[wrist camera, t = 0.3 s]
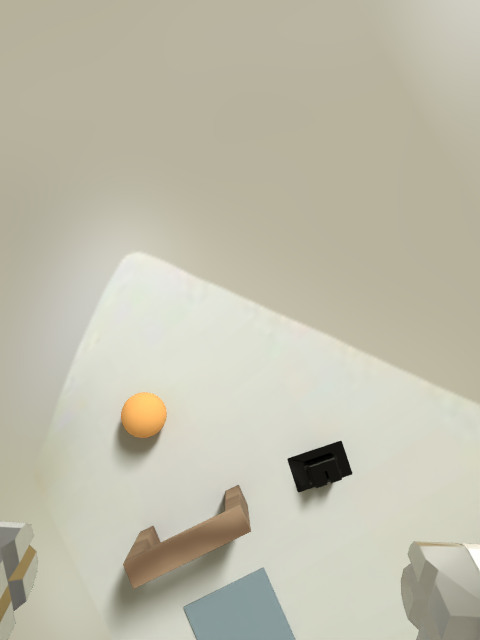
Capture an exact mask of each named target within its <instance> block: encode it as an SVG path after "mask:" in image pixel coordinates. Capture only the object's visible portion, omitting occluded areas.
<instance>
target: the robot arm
mask: <svg viewBox="0 0 480 640" xmlns="http://www.w3.org/2000/svg"><path fill="white" fill-rule="evenodd" d="M33 537H34V534H33V530H32V525H31V524H27V523H15V522H2V521H0V640H8V639H9V636H10V634H11V632H12V630H13V628H14V626H15V624H16V621H15V616H14V611H15V610H16V609H17V608H19V606H21V605H22V604H23V603H25V602H26V601H27V599H28V597H29V594H30V592H31V590H32V588H33V585H34V580H35V577H36V573H37V565H38V558H37V552H36V551H35V550H34V549H33V548H32V547H31V546H30V545H29V544H30V542H31V540H32V539H33ZM408 556H409V559H410V562H411V564H409V565H408V566H407V567H406V568H404V569H403V574H402V578H401V595H402V600H403V605H404V609H405V612H406V615H407V618H408V620H409V621H410V622H411V623H412V624H413V625H414V626H415V627H416V628H417V629H418V630H419V633H418V636H417V639H416V640H480V544H458V543H440V542H413V543H412V544H411V545H410V548H409V551H408Z"/></svg>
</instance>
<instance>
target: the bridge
mask: <svg viewBox="0 0 480 640" xmlns="http://www.w3.org/2000/svg"><path fill="white" fill-rule="evenodd" d="M249 532H251V529H250V521H249V513H248V505H247V503H246V500H245V498H244V496H243V494H242V491H241V489H240V487H239V485H237V486H235V487H233V488H231V489H229V490H227V491H226V496H225V512H223V513H221V514H219V515H217V516H215V517H213V518H211V519H209V520H207V521H204V522H202V523H200V524H198V525H196V526H194V527H192V528H190V529H188V530H186V531H184V532H182V533H180V534H178V535H175V536H173V537H171V538H169V539H167V540H165V541H163V542H160V540H159V538H158V535H157V533H156V531H155V528H154V526H152V527H150V528H148V529H146V530H144V531H141V532H140V533H139V535H138V537H137V539H136V541H135V543H134V545H133V547H132V548H131V550H130V552H129V554H128V556H127V558H126V560H125V562H124V563H123V565H124V568H125V570H126V573H127V575H128V577H129V580H130V582H131V585H132V587H133V589H134V588H136V587H138V586H140V585H142V584H144V583H146V582H148V581H150V580H152V579H155V578H157V577H159V576H161V575H163V574H165V573H167V572H169V571H171V570H173V569H175V568H177V567H179V566H181V565H183V564H185V563H187V562H189V561H191V560H193V559H196V558H198V557H200V556H202V555H204V554H206V553H208V552H210V551H212V550H214V549H216V548H218V547H220V546H222V545H224V544H226V543H228V542H230V541H232V540H234V539H237V538H239V537H241V536H243V535H245V534H247V533H249Z"/></svg>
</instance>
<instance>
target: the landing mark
mask: <svg viewBox="0 0 480 640" xmlns="http://www.w3.org/2000/svg"><path fill="white" fill-rule="evenodd" d="M184 610H185V612H186V614H187V617H188V619H189V621H190V624H191V626H192V628H193V631H194V633H195V635H196V638H197V640H295V638H294V635H293V633H292V631H291V629H290V626H289V624H288V622H287V620H286V617H285V615H284V613H283V611H282V608H281V606H280V604H279V602H278V599H277V597H276V595H275V592H274V590H273V588H272V586H271V583H270V581H269V579H268V577H267V574H266V572H265V570H264V568H261V569H259V570H257V571H255V572H253V573H251V574H249V575H247V576H245V577H243V578H241V579H239V580H237V581H235V582H233V583H231V584H229V585H227V586H225V587H223V588H221V589H219V590H217V591H215V592H213V593H211V594H209V595H207V596H205V597H203V598H201V599H199V600H197V601H195V602H193V603H191V604H189V605H187V606H185V607H184Z"/></svg>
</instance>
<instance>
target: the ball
mask: <svg viewBox="0 0 480 640" xmlns="http://www.w3.org/2000/svg"><path fill="white" fill-rule="evenodd" d="M166 415H167V413H166V408H165V405H164V403H163V401H162V400H161V399H160V398H159V397H158V396H156V395H154V394H151V393H138V394H135V395H133V396H132V397H130V398H129V399H128V400H127V401H126V403H125V404H124V406H123V409H122V412H121V420H122V424H123V426H124V428H125V429H126V431H127V432H128V433H130V434H131V435H133V436H135V437H139V438H147V437H150V436H153V435H155V434H156V433H158V432H159V431H160V430H161V429H162V427H163V426H164V423H165V421H166Z"/></svg>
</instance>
